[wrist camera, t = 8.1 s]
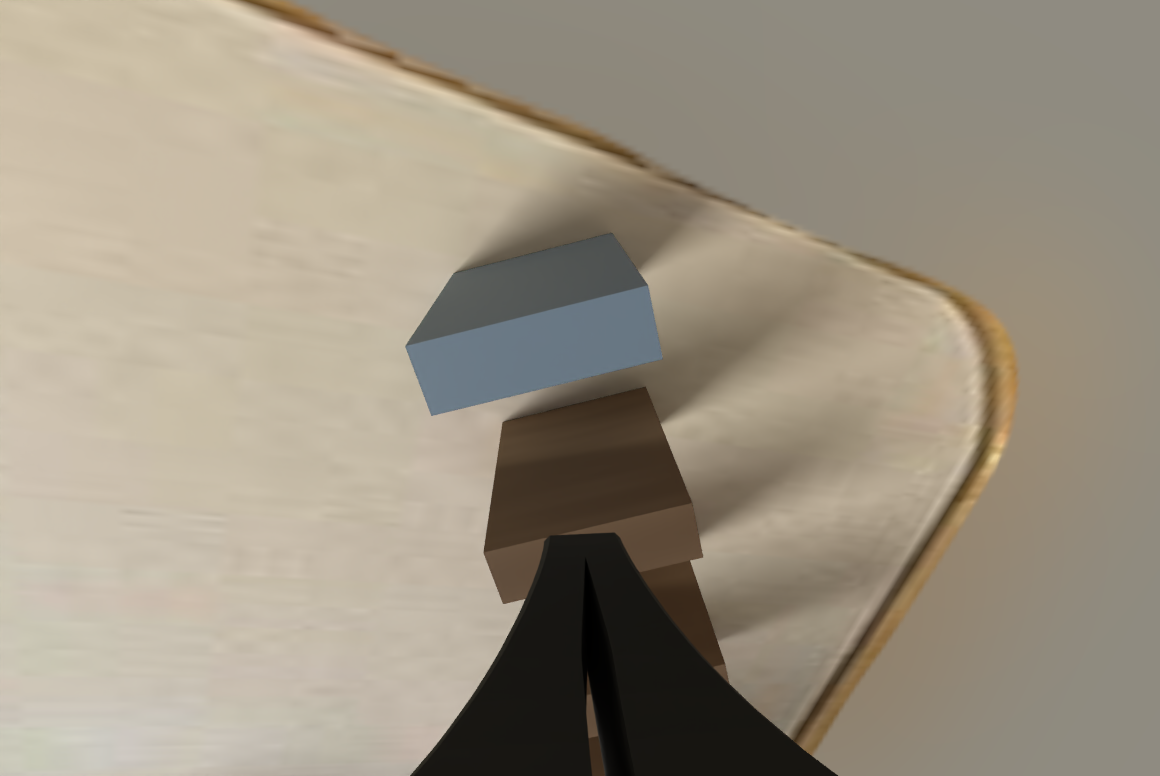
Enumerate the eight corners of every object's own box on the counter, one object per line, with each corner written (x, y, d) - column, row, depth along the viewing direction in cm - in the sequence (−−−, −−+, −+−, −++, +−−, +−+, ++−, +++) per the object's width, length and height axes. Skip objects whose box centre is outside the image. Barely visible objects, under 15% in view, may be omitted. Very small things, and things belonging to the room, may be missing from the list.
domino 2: (680, 546, 23) (733, 705, 17) (553, 576, 23) (556, 745, 17) (673, 512, 22) (724, 664, 16) (542, 543, 23) (541, 705, 16)
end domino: (622, 283, 19) (662, 359, 13) (469, 321, 19) (431, 415, 13) (611, 233, 18) (647, 285, 12) (453, 273, 19) (405, 346, 12)
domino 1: (654, 428, 21) (703, 557, 15) (515, 461, 21) (503, 603, 15) (645, 386, 20) (692, 502, 14) (502, 422, 21) (483, 552, 14)
